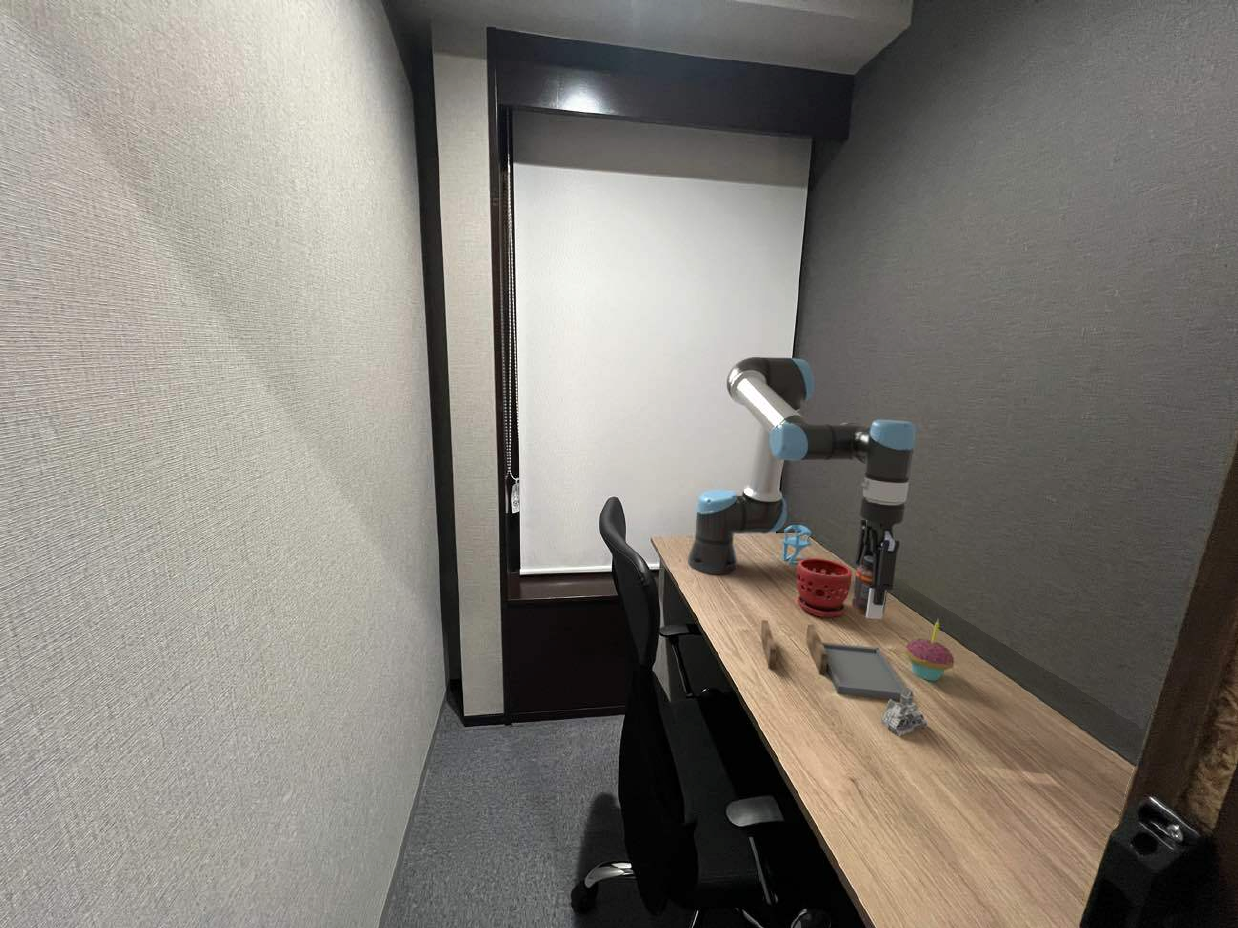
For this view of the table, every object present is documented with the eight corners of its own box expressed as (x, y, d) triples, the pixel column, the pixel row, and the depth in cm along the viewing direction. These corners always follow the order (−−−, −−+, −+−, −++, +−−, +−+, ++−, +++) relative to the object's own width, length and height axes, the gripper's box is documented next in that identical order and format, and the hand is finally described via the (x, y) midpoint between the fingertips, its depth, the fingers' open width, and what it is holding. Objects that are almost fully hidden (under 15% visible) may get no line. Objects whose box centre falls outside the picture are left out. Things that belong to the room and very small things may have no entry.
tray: (817, 647, 113) (817, 641, 113) (877, 653, 111) (878, 647, 111) (837, 693, 97) (838, 686, 97) (908, 700, 96) (909, 693, 95)
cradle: (760, 637, 116) (762, 620, 115) (811, 642, 115) (813, 624, 114) (768, 668, 105) (770, 648, 104) (825, 674, 103) (827, 654, 102)
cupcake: (910, 657, 110) (918, 607, 108) (955, 675, 104) (965, 622, 102) (897, 673, 104) (906, 621, 102) (944, 693, 98) (954, 637, 96)
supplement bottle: (887, 620, 98) (896, 566, 96) (855, 616, 99) (862, 563, 97) (878, 606, 104) (886, 555, 102) (848, 602, 105) (855, 552, 103)
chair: (776, 559, 164) (779, 524, 162) (794, 555, 168) (797, 521, 166) (794, 568, 157) (798, 532, 155) (812, 564, 161) (816, 528, 159)
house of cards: (892, 696, 97) (897, 661, 96) (934, 726, 89) (941, 688, 88) (857, 706, 94) (862, 670, 93) (897, 739, 86) (904, 700, 85)
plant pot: (858, 616, 128) (864, 573, 126) (817, 624, 123) (822, 579, 121) (821, 594, 140) (826, 554, 138) (783, 600, 135) (787, 559, 133)
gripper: (847, 487, 107) (835, 587, 111) (881, 512, 88) (864, 632, 93) (884, 489, 106) (870, 590, 110) (926, 515, 87) (907, 636, 92)
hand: (867, 609), depth 101 cm, fingers closed on supplement bottle, 6 cm apart
